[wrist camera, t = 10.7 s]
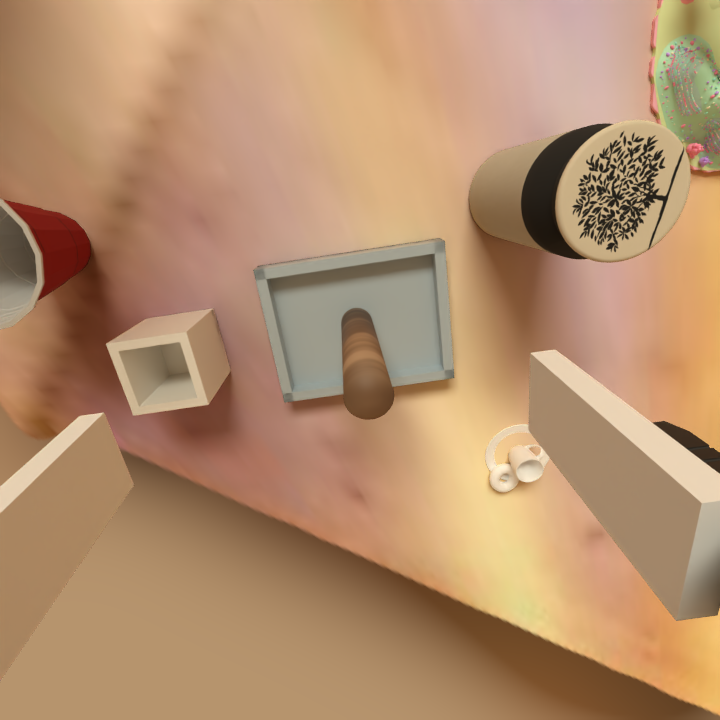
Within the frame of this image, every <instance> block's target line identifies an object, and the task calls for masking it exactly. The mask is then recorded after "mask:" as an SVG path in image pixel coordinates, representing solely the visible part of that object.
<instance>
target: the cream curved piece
mask: <svg viewBox="0 0 720 720" xmlns="http://www.w3.org/2000/svg"><path fill="white" fill-rule="evenodd" d="M528 428H529V425H528V424H519V425H513V426H510V427H508V428H505V429H503V430H502V431H500V432H499V433H497V434H496V435H495V436H494V437H493V438H492V440H491V441H490V442H489V444H488V446H487V449H486V453H485V461H486V465H487V467H488V469H489V470H490V472H491V473H490V476H489V481H490V484H491V486H492V488H493V489H495V490H496V491H498V492H509V491H511V490H512V489H514V488H515V487H516V486H517V484H518V482H519V481H523V482H533V481H535V480H537V479H539V478H540V477H541V475H542V474H543V471H544V467H545V465H546V464H547V462H548V461H549V458H550V457H549V456H548V455H547V454H546V452H545V451H544V450H543V448H542V447H541V446H539V445H534V444H533V445H526V446H523V445H515V446H513V447H512V448H511V449H510V450H509V454H508V457H509V461H510V464H507V463H503V464H499V465H496V463H495V460H494V452H495V449H496V447H497V445H498V444H499V442H500V441H501V440H502V439H504V438H505V437H506V436H508V435H510V434H513V433H518V432H526V433H530V432H529V430H528ZM530 434H531V433H530ZM531 447H538V448H540V449H541V452H540V454H539V455H538V456H535V454H534V453H533V452H532V451H531V450H529V448H531ZM500 479H503V480H506V481H505V482H501V481H500Z"/></svg>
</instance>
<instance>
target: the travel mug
mask: <svg viewBox="0 0 720 720" xmlns="http://www.w3.org/2000/svg"><path fill="white" fill-rule="evenodd" d="M690 179H691V173H690V163H689V159H688V155H687V153H686V150H685V148H684V146H683V144H682V143H681V141H680V140H679V139H678V137H677V136H676V135H675V134H674V133H673V132H671V131H670V130H669V129H667V128H666V127H664V126H662V125H660V124H658V123H655V122H652V121H647V120H629V121H623V122H619V123H616V124H596V125H591V126H587V127H584V128H580V129H576V130H573V131H569V132H566V133H562V134H559V135H555V136H551V137H548V138H544V139H541V140H537V141H534V142H530V143H527V144H523V145H519V146H516V147H512V148H509V149H505V150H502V151H500V152H498V153H496V154H494V155H493V156H491V157H490V158H488V159H487V160H486V161H485V162H484V163H483V164H482V165H481V167H480V168H479V169H478V171H477V173H476V174H475V176H474V178H473V181H472V184H471V187H470V193H469V205H470V210H471V214H472V216H473V218H474V220H475V222H476V223H477V225H478V226H479V227H480V228H481V229H482V230H483V231H484V232H486V233H487V234H489V235H491V236H494V237H497V238H501V239H504V240H508V241H511V242H515V243H518V244H522V245H525V246H529V247H532V248H536V249H539V250H543V251H546V252H550V253H553V254H557V255H560V256H564V257H567V258H572V259H590V260H593V261H598V262H607V263H608V262H619V261H624V260H628V259H631V258H634V257H636V256H638V255H640V254H642V253H644V252H646V251H647V250H649V249H650V248H652V247H653V246H654V245H656V244H657V243H658V242H659V241H660V240H662V239H663V238H664V237H665V235H666V234H667V233H668V232H669V231H670V230H671V229H672V227H673V226H674V224H675V223H676V221H677V220H678V218H679V216H680V214H681V212H682V210H683V208H684V206H685V203H686V200H687V197H688V193H689V188H690Z"/></svg>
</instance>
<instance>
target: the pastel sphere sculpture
mask: <svg viewBox="0 0 720 720" xmlns="http://www.w3.org/2000/svg"><path fill="white" fill-rule="evenodd" d="M657 8H658V9H657V12H656V15H655V18H654V19H653V21H652V32H651V47H652V48H653V53H652V58H651V60H650V63H649V72H648V73H649V76H650V78H651V84H652V85H651V102H650V107H651V109H652V110H653V111H654V112H655V113H656V116H657V123H658V124H660V125H662V126H664V127H666V128H667V129H669V130H670V131H671V132H673V133H674V134H675V135H676V136H677V137H678V139H679V140H680V141H681V143H682V144H683V146H684V148H685V150H686V153H687V155H688V159H689V163H690V169H691V170H701V171H702V172H712V171H720V0H658V7H657Z"/></svg>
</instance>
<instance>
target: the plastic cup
mask: <svg viewBox="0 0 720 720" xmlns="http://www.w3.org/2000/svg"><path fill="white" fill-rule="evenodd" d="M90 255H91V250H90V241H89V239H88V237H87V235H86V233H85V231H84V230H83V229H82V228H81V227H80V226H79V224H78V223H77V222H76V221H74V220H72V219H71V218H69V217H67V216H65V215H63V214H61V213H58V212H52V211H47V210H43V209H41V208H37V207H33V206H28V205H24V204H19V203H15V202H10V201H6V200H2V199H0V330H1V329H5V328H8V327H12V326H14V325H15V324H16V323H17V322H18V321H20V320H21V319H22V318H23V317H24V316H25V315H27V314H28V313H29V312H30V311H31V310H32V309H33V308H35V306H36V303H37V301H38V300H40V299H41V298H43V297H44V296H46V295H47V294H49V293H50V292H52V291H53V290H55V289H56V288H58V287H59V286H61V285H63V284H64V283H65V282H66V281H67V280H68V279H70V278H71V277H73V276H74V275H76V274H77V273H78V272H80V271H81V270H82V269H83V268H84V267H85V266H86V265H87V263H88V260H89V258H90Z"/></svg>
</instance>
